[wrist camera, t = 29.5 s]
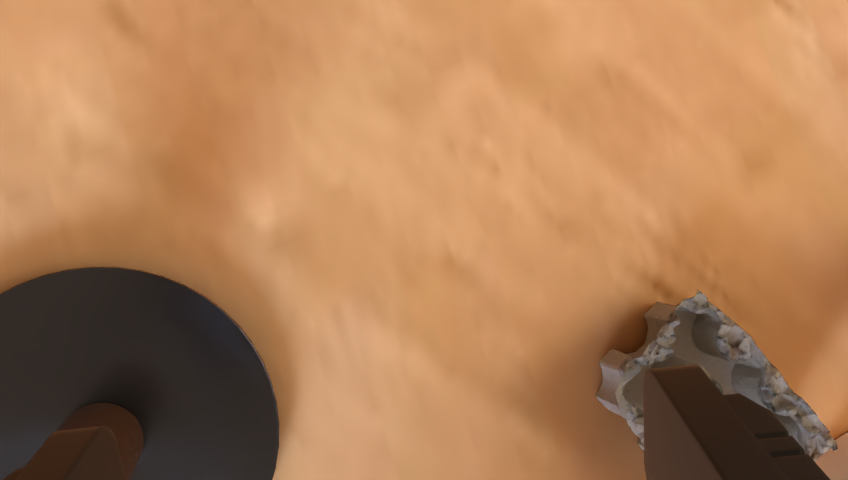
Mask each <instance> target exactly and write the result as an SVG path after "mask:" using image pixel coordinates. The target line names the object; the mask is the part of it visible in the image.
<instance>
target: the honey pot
mask: <svg viewBox="0 0 848 480" xmlns="http://www.w3.org/2000/svg"><path fill="white" fill-rule="evenodd" d="M835 441H836V444H837V446H838V449H836V450H834V451H833V449H832V448H830V449H829V450H828V451H827V452H825V453H824V454H823V455H821V456H820V457H819V458H818V460H817V461H816V462H815V463H816V464H817V465H818V466H819V467H820V468H821V469H822V471H823V472H824V473H825V474H826V475H827V476H828V477H829V479H830V480H848V432H847V433H845V434H844V435H842V436H840V437H839V438H837V439H835Z"/></svg>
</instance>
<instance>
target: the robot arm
mask: <svg viewBox="0 0 848 480" xmlns="http://www.w3.org/2000/svg"><path fill="white" fill-rule="evenodd" d="M643 412H644V463H645V472H646V478H647V480H830V479H829V477H828V476H827V475H826V474H825V473H824V472H823V471H822V469H821V468H820V467H819V466H818V465H817V464H816V463H815V461H814V460H813V459H812V458H811V457H810V456H809V455H808V454H805V453H804V449H803V448H802V447H801V446H800V444H799V443H798V442H797V441H796V440H795V439H794V438H793V436H789V434H788V431H787V430H786V428H785V427H784V426H783V425H782V424H781V423H780V422H779V420H778V419H777V418H776V417H775V416H774V415H773V414H772V412H771V411H770V410H768V409H766V408H765V407H763V406H761V405H759V404H757V403H756V402H754V401H752V400H750V399H748V398H747V397H745V396H743V395H741V394H739V393H738V394H729V395H722V394H721V392H720V391H719V390H718V389H717V387H716V386H715V385H714V384H713V382H712V381H711V380H710V378H709V377H708V376H707V375H706V373H705V372H704V371H703V370H702V368H701V367H700V366H698V365H685V366H676V367H667V368H657V369H648V370H646V372H645V374H644V379H643ZM3 480H127V479H126V475H125V471H124V467H123V463H122V459H121V455H120V451H119V447H118V444H117V440H116V437H115V435H114V433H113V431H112V430H111V429H110V428H109V427H107V426H99V427H90V428H80V429H71V430H61V431H55V432H53V433H52V434H51V435H50V436H49V437H48V438H47V440H46V441H45V442H44V444H43V445H42V446H41V447H40V449H39V450H38V451H37V453H36V454H35V455H34V456H33V458H32V459H31V460H30V462H29V463H28V464H27V465H26V467H25V468H18V469H17V470H15V471H14V472H13V473H11V474H10V475H8V476H7V477H6V478H4V479H3Z"/></svg>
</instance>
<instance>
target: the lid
mask: <svg viewBox="0 0 848 480" xmlns="http://www.w3.org/2000/svg"><path fill="white" fill-rule="evenodd" d="M99 426H107V427H109V428H110V429H111V430H112V431H113V433H114V435H115V437H116V440H117V444H118V447H119V451H120V455H121V459H122V463H123V467H124V471H125V475H126V479H127V480H272V478H273V475H274V471H275V468H276V462H277V455H278V448H279V418H278V410H277V402H276V398H275V394H274V390H273V386H272V382H271V379H270V377H269V374H268V372H267V369H266V367H265V365H264V362H263V360H262V358H261V356H260V355H259V353H258V351H257V350H256V348H255V346H254V344H253V343H252V341H251V340H250V339H249V337H248V336H247V335H246V333H245V332H244V331H243V330H242V328H241V327H240V326H239V325H238V324H237V323H236V322H235V321H234V320H233V319H232V318H231V317H230V316H229V315H228V314H227V313H226V312H225V311H224V310H223V309H222V308H221V307H219V306H218V305H217V304H215V303H214V302H213V301H211V300H210V299H208V298H207V297H206V296H204V295H203V294H201V293H199V292H197V291H195V290H194V289H192V288H190V287H188V286H186V285H185V284H182V283H180V282H177V281H175V280H172V279H170V278H167V277H165V276H162V275H158V274H154V273H150V272H146V271H142V270H136V269H129V268H121V267H86V268H78V269H69V270H64V271H60V272H56V273H52V274H48V275H44V276H41V277H38V278H35V279H33V280H30V281H27V282H25V283H22V284H19V285H17V286H15V287H13V288H11V289H9V290H7V291H6V292H4V293H2V294H0V480H3V479H4V478H6V477H7V476H8V475H10V474H11V473H13V472H14V471H15V470H17V469H18V468H25V467H26V465H27V464H28V463H29V462H30V460H31V459H32V458H33V456H34V455H35V454H36V453H37V451H38V450H39V449H40V447H41V446H42V445H43V444H44V442H45V441H46V440H47V438H48V437H49V436H50V435H51V434H52V433H53V432H55V431H61V430H71V429H80V428H90V427H99Z"/></svg>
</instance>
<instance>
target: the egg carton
mask: <svg viewBox="0 0 848 480" xmlns="http://www.w3.org/2000/svg"><path fill="white" fill-rule="evenodd" d="M644 317H645V319H646V321H647V326H648V333H647V336H646V341H645V342H644V344H643V346H642V347H641V348H639V349H638V350H637V352H634V353H628V354H625V353H622V352H620V351H617V350H615V349H611V350H610V351H609V352H608V353H607V354H606V355H605V356H604V357H603V358H601V360H600V361H599V365H600V366H601V369H602V376H603V381H602V385H601V387H600V389H599V391H598V392H597V394H596V397H597V399H598V400H599V401H600V402H601V403H602V404H603V405H604V406H605V407H606V408H607V409H608V410H609V411H612V412H613V413H615V414H618V415H620V416H622V417H624V418H625V419H626V421H627V423H628V426H629V427H630V429H631V430H632V431H633V433H634V434H635V435H636V436H637V437H639V438H640V439H639V441H638V442H637V443H638V444H639V446H640V448H641V449H642V450H643V451H644V412H643V379H644V374H645V372H646V370H648V369H657V368H667V367H676V366H685V365H698V366H700V367H701V368H702V370H703V371H704V372H705V373H706V375H707V376H708V377H709V378H710V380H711V381H712V382H713V384H714V385H715V386H716V387H717V389H718V390H719V391H720V392H721V394H722V395H729V394H738V393H739V394H741V395H743V396H745V397H747V398H748V399H750V400H752V401H754V402H756V403H757V404H759V405H761V406H763V407H765V408H766V409H768V410H770V411H771V412H772V414H773V415H774V416H775V417H776V418H777V419H778V420H779V422H780V423H781V424H782V425H783V426H784V427H785V428H786V430H787V431H788V434H789V436H793V438H794V439H795V440H796V441H797V442H798V443H799V444H800V446H801V447H802V448H803V449H804V453H805V454H808V455H809V456H810V457H811V458H812V459H813V460H814V461H815V462H816V461H817V460H818V458H819V457H820V456H821V455H823V454H824V453H825V452H827V451H828V450H829V449H830V448H832V449H833V451H834V450H836V449H838V446H837V444H836V441H835V440H834V439H833V438H832V436H831V435H830V434H829V432H830V431H829V430H828V429H827V428H826V426H825V425H824V424H823V423H822V422H821V421H820V420H819V418H818V416H817V414H816V413H815V412H814V411H813V410H812V409H811V408H810V406H809V405H808V404H807V403H806V402H805V401H804V400H803V399H802V398H801V397H800V396H798V395H797V394H796V393H794V392H793V391H792V390H791V388H790V387H789V386H788V384H787V383H786V381H785V380H784V378H783V376H782V374H781V373H780V372H779V370H778V369H777V368H775V367H774V366H773V365H772V364H771V363H770V362H769V361H768V359H767V358H766V357H765V355H764V354H763V353H762V351H761V350H760V349H759V348H758V347H757V345H756V344H755V342H754V341H753V339H752V338H751V336H750V335H749V334H747V333H746V332H745V331H744V330H743V329H742V328H740V327H739V326H738V325H737V324H736V323H735V322H734V321H732V320H731V319H730V318H729V317H727V316H726V315H725V314H724V313H723V312H722V311H720V310H719V309H718V308H717V307H715V306H714V305H713V304H711V303H710V302H709V301H708V299H707V297H706V296H705V295H704V294H703V293H701V292H700V291H699V290H697V294H696V295H695V296H694V297H692V298H689V299H685V300H683V301H682V302H681V303H680V304H679V305H678V306H673V305H668V304H664V303H660V302H657V303H655V304H654V305H653V306H652V307H651V308H650V309H649V310H648V311H647V312H646V313H644Z"/></svg>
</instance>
